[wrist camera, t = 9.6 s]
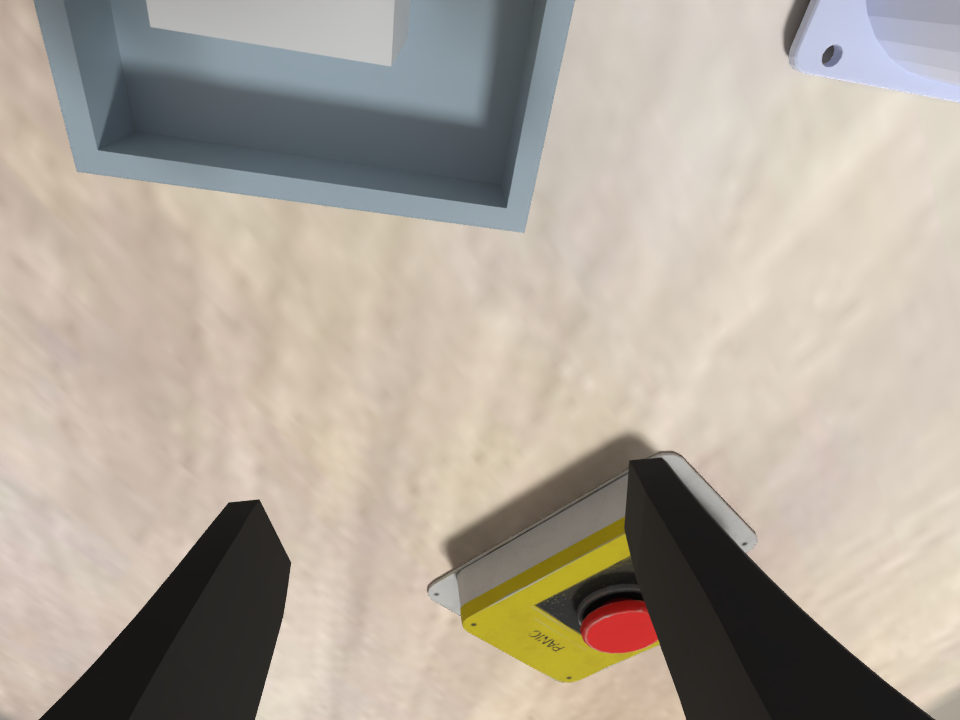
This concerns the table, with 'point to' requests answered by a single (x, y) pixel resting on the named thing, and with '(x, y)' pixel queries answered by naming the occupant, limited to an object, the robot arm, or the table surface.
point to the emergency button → (570, 583)
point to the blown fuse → (295, 24)
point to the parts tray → (318, 109)
